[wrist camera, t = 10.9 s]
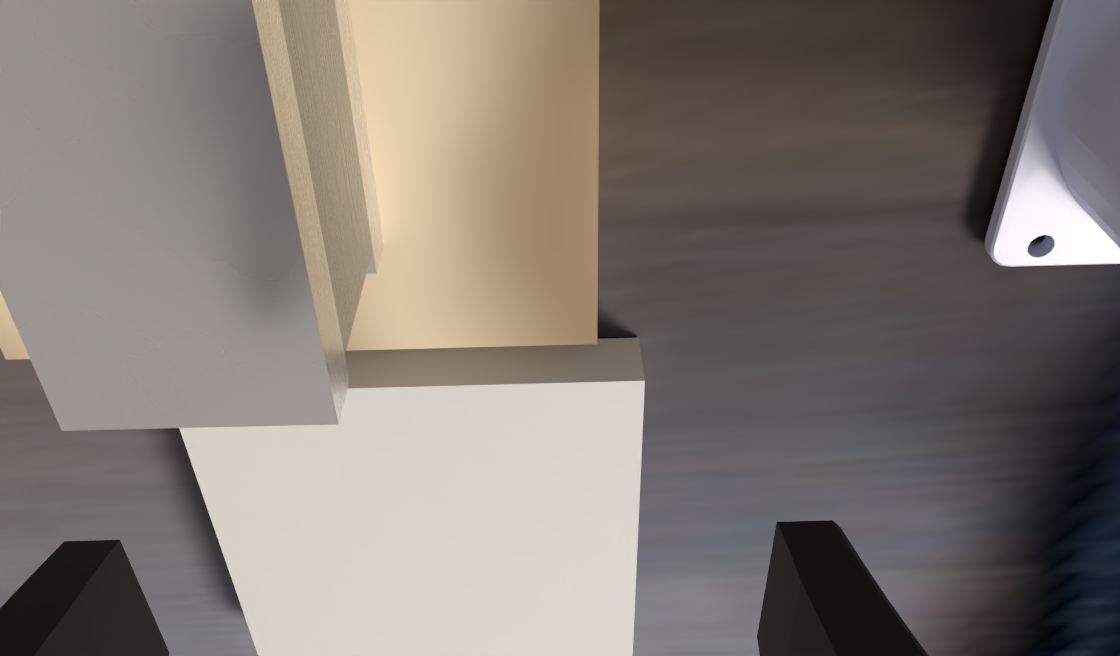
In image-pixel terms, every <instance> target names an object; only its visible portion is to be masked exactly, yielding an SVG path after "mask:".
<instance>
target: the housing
mask: <svg viewBox="0 0 1120 656" xmlns="http://www.w3.org/2000/svg"><path fill="white" fill-rule="evenodd" d="M383 246H384V241H383V234H382V228H381V221H380V214H379V207H378V200H377V193H376V186H375V179H374V172H373V165H372V158H371V151H370V144H369V138H368V131H367V124H366V117H365V110H364V103H363V96H362V89H361V82H360V75H359V68H358V61H357V54H356V48H355V41H354V34H353V27H352V20H351V13H350V6H349V0H0V291H1V294H2V296H3V298H4V300H5V303H6V305H7V307H8V310H9V312H10V314H11V316H12V319H13V321H14V323H15V325H16V328H17V330H18V332H19V335H20V337H21V339H22V341H23V344H24V346H25V348H26V350H27V353H28V355H29V357H30V359H31V362H32V364H33V366H34V369H35V371H36V373H37V375H38V378H39V380H40V382H41V384H42V387H43V389H44V391H45V394H46V396H47V398H48V400H49V403H50V405H51V407H52V409H53V412H54V414H55V416H56V418H57V421H58V423H59V425H60V428H61V430H62V431H67V430H113V429H158V428H203V427H248V426H294V425H339V421H340V417H341V413H342V409H343V405H344V401H345V397H346V393H347V389H348V385H349V381H350V380H349V374H348V369H347V364H346V358H345V352H346V349H347V345H348V341H349V337H350V334H351V330H352V326H353V322H354V319H355V315H356V311H357V307H358V304H359V300H360V296H361V292H362V289H363V285H364V281H365V277H366V274H373V273H377V270H378V266H379V262H380V258H381V254H382V250H383Z"/></svg>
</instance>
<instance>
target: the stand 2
mask: <svg viewBox="0 0 1120 656" xmlns="http://www.w3.org/2000/svg"><path fill="white" fill-rule="evenodd" d="M345 358H346V364H347V369H348V374H349V380H350V381H349V385H348V389H347V393H346V397H345V401H344V405H343V409H342V413H341V417H340V421H339V425H294V426H248V427H203V428H179V429H180V432H181V435H182V438H183V440H184V443H185V446H186V449H187V452H188V455H189V458H190V461H191V463H192V466H193V469H194V472H195V475H196V478H197V481H198V484H199V486H200V489H201V492H202V495H203V498H204V501H205V504H206V507H207V509H208V512H209V515H210V518H211V521H212V524H213V527H214V530H215V532H216V535H217V538H218V541H219V544H220V547H221V550H222V553H223V555H224V558H225V561H226V564H227V567H228V570H229V573H230V576H231V578H232V581H233V584H234V587H235V590H236V593H237V596H238V599H239V601H240V604H241V607H242V610H243V613H244V616H245V619H246V622H247V624H248V627H249V630H250V633H251V636H252V639H253V642H254V645H255V647H256V650H257V653H258V656H632V655H633V633H634V611H635V588H636V566H637V543H638V521H639V499H640V476H641V454H642V431H643V409H644V387H645V379H644V372H643V365H642V358H641V351H640V344H639V338H606V339H597V344H582V345H544V346H505V347H467V348H428V349H390V350H351V351H346V352H345Z"/></svg>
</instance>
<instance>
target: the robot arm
mask: <svg viewBox="0 0 1120 656" xmlns="http://www.w3.org/2000/svg"><path fill="white" fill-rule="evenodd" d="M1042 235H1046V237H1045V238H1044V240H1043V241H1042V242H1041V243H1039V244H1038V245H1037V246H1033V247H1028V246H1029V244H1030V242H1031V241H1032V240H1034V239H1035V238H1036V237H1038V236H1042ZM985 248H986V250H987V252H988V254H989V255H990V257H991V258H992V260H993V261H994V262H996V263H997V264H999V265H1002V266H1008V267H1012V266H1051V265H1090V264H1120V0H1054V2H1053V5H1052V9H1051V12H1050V15H1049V19H1048V22H1047V26H1046V29H1045V33H1044V36H1043V40H1042V43H1041V47H1040V50H1039V54H1038V57H1037V61H1036V64H1035V67H1034V71H1033V74H1032V78H1031V81H1030V85H1029V88H1028V92H1027V95H1026V99H1025V102H1024V106H1023V109H1022V113H1021V116H1020V119H1019V123H1018V126H1017V130H1016V133H1015V137H1014V140H1013V144H1012V147H1011V151H1010V154H1009V158H1008V161H1007V165H1006V168H1005V171H1004V175H1003V178H1002V182H1001V185H1000V189H999V192H998V196H997V199H996V203H995V206H994V210H993V213H992V217H991V220H990V223H989V227H988V230H987V234H986V237H985ZM757 638H758V645H759V652H760V656H928V655H927V653H926V652H925V651H924V649H923V648H922V646H921V645H920V644H919V642H918V641H917V640H916V638H915V637H914V636H913V634H912V633H911V631H910V630H909V629H908V627H907V626H906V624H905V623H904V621H903V620H902V619H901V617H900V616H899V614H898V613H897V612H896V610H895V609H894V607H893V606H892V604H891V603H890V602H889V600H888V599H887V597H886V596H885V594H884V593H883V591H882V590H881V589H880V587H879V586H878V584H877V583H876V581H875V580H874V578H873V577H872V575H871V574H870V572H869V571H868V569H867V568H866V566H865V565H864V563H863V562H862V560H861V559H860V557H859V556H858V554H857V553H856V551H855V550H854V548H853V546H852V545H851V543H850V542H849V540H848V539H847V537H846V536H845V534H844V532H843V531H842V529H841V528H840V527H839V526H838V525H837V524H836V523H835V522H834V521H798V522H777V524H776V530H775V536H774V542H773V548H772V554H771V559H770V565H769V571H768V577H767V583H766V588H765V594H764V600H763V606H762V612H761V618H760V623H759V629H758V635H757ZM0 656H169V651H168V649H167V646H166V644H165V642H164V639H163V637H162V635H161V633H160V630H159V628H158V626H157V624H156V621H155V619H154V617H153V614H152V612H151V610H150V608H149V605H148V603H147V601H146V599H145V596H144V594H143V592H142V589H141V587H140V585H139V583H138V580H137V578H136V576H135V574H134V571H133V569H132V567H131V564H130V562H129V560H128V558H127V555H126V553H125V551H124V549H123V546H122V544H121V542H120V540H102V541H65V542H63V543H62V544H61V545H60V547H59V548H58V549H57V550H56V551H55V552H54V553H53V554H52V555H51V556H50V557H49V558H48V559H47V560H46V561H45V562H44V563H43V564H42V565H41V566H40V567H39V568H38V569H37V570H36V571H35V572H34V573H33V574H32V575H31V576H30V577H29V578H28V580H27V581H26V582H25V583H24V584H23V585H22V586H21V587H20V588H19V589H18V590H17V591H16V592H15V593H14V594H13V595H12V596H11V597H10V598H9V600H8V601H7V602H6V603H5V604H4V605H3V606H2V607H1V608H0Z"/></svg>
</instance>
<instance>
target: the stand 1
mask: <svg viewBox="0 0 1120 656" xmlns="http://www.w3.org/2000/svg"><path fill="white" fill-rule="evenodd" d="M349 6H350V13H351V20H352V27H353V34H354V41H355V48H356V54H357V61H358V68H359V75H360V82H361V89H362V96H363V103H364V110H365V117H366V124H367V131H368V138H369V144H370V151H371V158H372V165H373V172H374V179H375V186H376V193H377V200H378V207H379V214H380V221H381V228H382V234H383V241H384V246H383V250H382V254H381V258H380V262H379V266H378V270H377V273H373V274H366V277H365V281H364V285H363V289H362V292H361V296H360V300H359V304H358V307H357V311H356V315H355V319H354V322H353V326H352V330H351V334H350V337H349V341H348V345H347V349H346V351H351V350H390V349H428V348H467V347H505V346H544V345H582V344H597V307H598V135H599V0H349ZM0 348H1V350H2V352H3V354H4V356H5V359H30V357H29V355H28V353H27V350H26V348H25V346H24V344H23V341H22V339H21V337H20V335H19V332H18V330H17V328H16V325H15V323H14V321H13V319H12V316H11V314H10V312H9V310H8V307H7V305H6V303H5V300H4V298H3V296H2V294H1V291H0Z"/></svg>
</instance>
